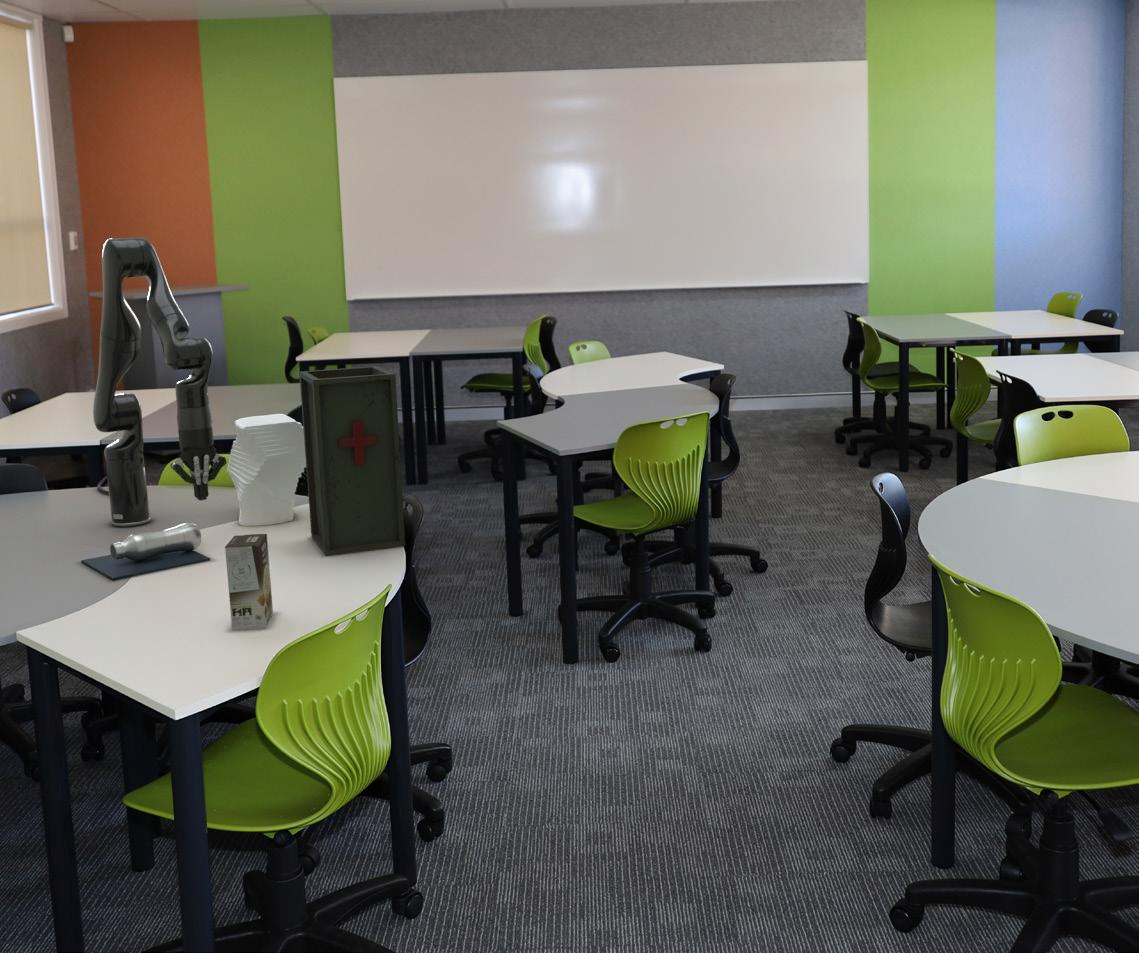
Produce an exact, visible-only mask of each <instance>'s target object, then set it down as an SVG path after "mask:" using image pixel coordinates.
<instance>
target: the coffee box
mask: <svg viewBox="0 0 1139 953" xmlns="http://www.w3.org/2000/svg"><path fill="white" fill-rule="evenodd" d="M268 544H269V543H268V534H267V533H251V534H250V533H249V534H240V535H238V534H237V535H234V536H233V537H232V538H231V539H230V540H229V541H228V542H227V543H226V545H224V551H225V552H224V553H225V562H226V573H227V584H228V585H227V587H228V598H229V605H230V606H229V608H230V609H229V610H230V621H231V630H232V631H238V630H239V631H240V630H241V631H242V630H257V629H265V628H266V627H267V625H268V624H269V622H270V620H271V618H272V616H273V615H274V607H273V595H272V582H271V571H270V570H271V569H270V557H269V546H268Z"/></svg>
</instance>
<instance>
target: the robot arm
mask: <svg viewBox="0 0 1139 953" xmlns="http://www.w3.org/2000/svg"><path fill="white" fill-rule="evenodd" d="M101 268H102V269H101V270H102V272H101V273H102V310H101V321H100V333H99V334H100V335H99V358H98V359H99V360H98V373H97V380H96V386H95V390H94V391H95V392H94V396H93V397H94V398H93V407H92V408H93V409H92V417H93V424H94V426H95V428H96V429H97V431H98V432H100V433H115V432H122V431H123V433H122V435H121V436H120V437H119V438H118V439H117V440H116V441H114V442H112V443H110V444H108V445H107V446H105V448H104V451H103V452H104V460H105V461H104V462H105V469H106V476H104V477H103V478H102V479H101V480H100V481H99V483H98V484H97V486H96V487H97V491H99V492H100V493H103V494H106V495H108V498H109V506H110V517H111V521H110V522H111V525H112V526H113V527H119V528H121V527H122V528H127V527H128V528H129V527H136V526H142V525H146V524H147V523H150V521H151V514H150V507H149V506H150V505H149V494H148V486H147V476H146V475H147V474H146V467H145V456H144V431H143V430H144V429H143V411H142V405H141V402H140V399H139V398H138V396H137V395H136V394H135V393H132V392H126V393H118V394H116V391H117V389H118V385H119V383H120V381H121V380H122V378H123V377H125V374H127V372H128V371H129V369H130V368H131V367H132V366H133V365H134V363H135V361H136V359H137V358H138V356H139V354H140V350H141V339H142V326H141V323H140V321H139V319H138V317H137V316H136V313H135V312H134V311H133V309H132V308H131V307H130V305H129V303H128V302H127V299H126V298H125V295H124V290H123V289H124V288H123V284H124V279H129V278H130V279H132V278H142V277H143V278H145V279H146V281H147V282H148V284H149V291H148V295H147V299H146V300H147V301H146V314H147V316H148V319H149V321H150V323H151V324H152V326H153V328H154V330H155V331H156V333H157V334H158V338H159V341H160V345H161V349H162V356H163V360H164V363H165V364H166V365H167V367H168V368H170V369H171V370H174V371H187V370H188V371H189V370H191V372H190V375H189V377H188V378H185V379H182V380H180V381H178V382H176V384H175V390H174V391H175V398H176V399H175V401H176V422H177V424H176V425H177V434H178V442H179V453H178V458H177V459H176V461H174V462H171V463H170V465H169V466H170V469H172V470H173V471H174V472H175V473H176V474H177V475H178V476H179V477H180V478H181V479H182V480H183V481H184V482H185V483H188V484H191V485H192V486H193V494H194V498H195V499H196V500H198V501H200V502H201V501H207V498H208V497H209V482H211V481H214V480H215V479H216V478H217V476H218V475H219V473H220V472H221V469H222V467H223V466H224V464H225V462H226V460H227V458H226V457H225V456H223V455H220V454H218V453H217V449H216V448H215V445H214V444H215V443H214V441H215V440H214V430H213V419H212V413H211V409H210V408H211V407H210V400H209V398H210V397H209V382H210V374H211V370H212V369H211V368H212V364H213V359H214V354H213V348H212V345H211V343H210V342H209V341H208V340H207V338H205V337H202V336H195V337H194V336H193V337H187V336H188V334H189V331H190V325H189V322H188V320H187V319H186V316H185V315H184V314H183V311H182V310H181V308H180V307H179V305H178V303H177V301H176V300H175V298H174V296H173V294H172V291H171V289H170V286H169V283H168V281H167V277H166V274H165V272H164V269H163V268H162V264H161V261H160V260H159V257H158V255H157V252H156V250H155V248H154V246H153V245H152V242H150V240H149V239H147V238H145V237H141V236H140V237H138V236H137V237H117V238H109V239H107V240H106V241H105V243H104V244H103V249H102V255H101ZM211 464H212V465H211ZM184 467H186V468H187V469H188V471H189V473H188V472H187V471H186V470H185V469H184ZM105 481H107V489H108V490H106V489H103V488H102V485H104V483H105Z"/></svg>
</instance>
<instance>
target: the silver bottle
mask: <svg viewBox="0 0 1139 953" xmlns="http://www.w3.org/2000/svg"><path fill="white" fill-rule="evenodd" d="M202 539H203V538H202V532H201V529H200V527H199V526H198V525H197V524H196V523H193V522H185V523H181V524H179V525H176V526H173V527H170V528H166V529H163V530H157V531H150V532H148V531H147V532H134V533H132V534H130V535H128V536H127V537H126V538H125V539H124V540H123V541H122V542H121V541H117V542H115V543H111V544H110V547H109V552H110V555H111V556H112V558H113V559H114V560H117V559H123V558H124V557H126V558H128V559H130V560H133V561H142V560H145V559H148V558H151V557H154V556H157V555H161V554H165V553H170V552H178V551H192V550H193V551H195V550H197V549H198V548H199V547H201V545H202Z"/></svg>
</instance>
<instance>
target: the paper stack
mask: <svg viewBox="0 0 1139 953" xmlns="http://www.w3.org/2000/svg"><path fill="white" fill-rule="evenodd" d="M233 423H234V427H235V431H236V437H235V440H233V442H232V445H231V449H230V453H229V457H228V464H227V468H226V472H227V474H228V475H229V478H230V479H231V481H232V483H233V485H234V488H235V491H236V495H237V500H238V507H239V515H238V517H239V518H238V522H239V525H240V526H246V527H251V526H252V527H255V526H269V525H276V524H284V523H286V522H292V521H293V520H294V508H295V501H294V497H295V496H296V495H295V494H296V493H297V488H298V483H299V478H302V473H305V468H306V456H305V443H304V429H303V423H301V422H298V421H296V420H295V418H292V417H291V416H288V415H286V414H285V413H274V414H273V413H272V414H266V415H254V416H247V417H241V418H238V419H236V420H235V421H234V422H233Z"/></svg>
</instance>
